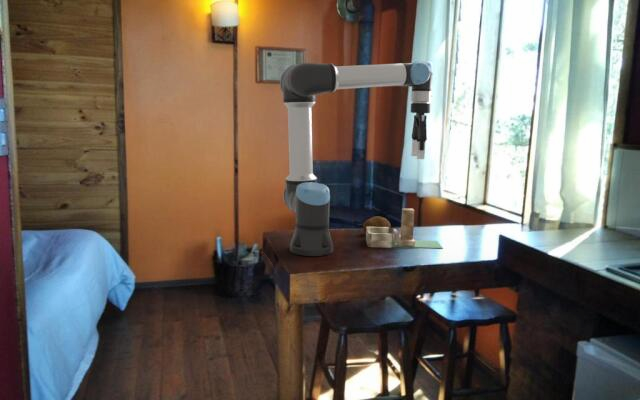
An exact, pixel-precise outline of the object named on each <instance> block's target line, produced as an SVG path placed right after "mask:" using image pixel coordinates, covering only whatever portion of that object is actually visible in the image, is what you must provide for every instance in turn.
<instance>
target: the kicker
mask: <svg viewBox="0 0 640 400" xmlns="http://www.w3.org/2000/svg"><path fill="white" fill-rule="evenodd" d="M414 222H415V209H414V208H413V207H412V208H410V207H409V208H405V207H404V208H403V207H402V208H401V222H400V224H401V225H400V233H399V231H398V230H397V228H392V240H393V241H394V243H395V245H399V246H415V240H416V239H414V227H415V226H414V225H415V223H414Z"/></svg>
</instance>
